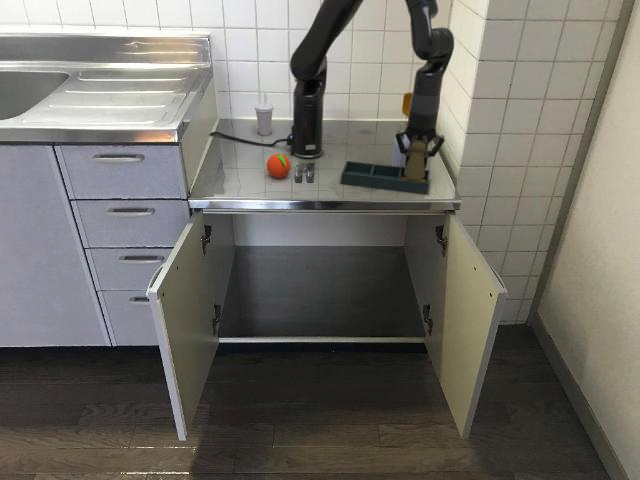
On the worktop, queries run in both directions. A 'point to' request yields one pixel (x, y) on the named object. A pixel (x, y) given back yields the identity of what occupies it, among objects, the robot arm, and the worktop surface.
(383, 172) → the tray
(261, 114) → the smoothie
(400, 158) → the soap bottle
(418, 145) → the cork
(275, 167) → the clementine
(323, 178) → the worktop surface
